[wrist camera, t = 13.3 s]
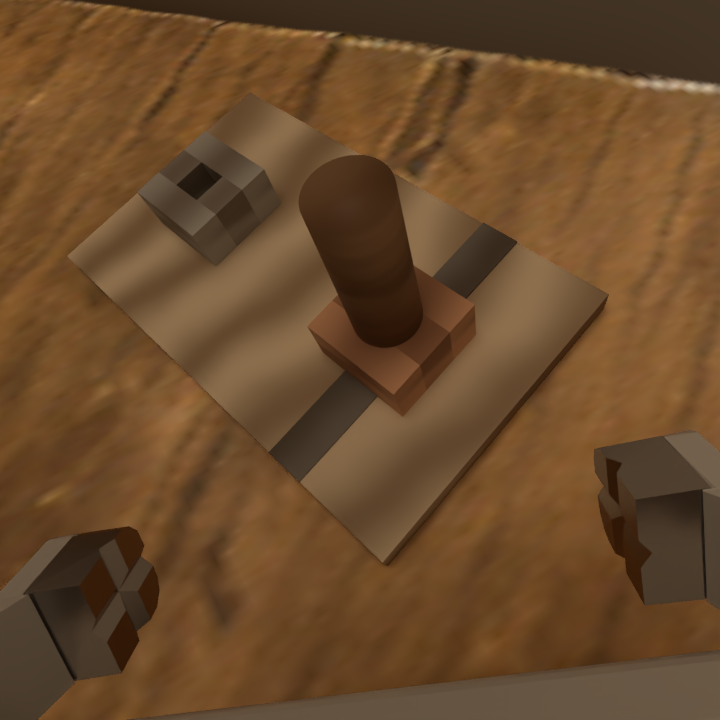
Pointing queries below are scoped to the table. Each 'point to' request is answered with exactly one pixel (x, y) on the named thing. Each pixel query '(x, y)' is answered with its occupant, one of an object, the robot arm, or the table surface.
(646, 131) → the table surface
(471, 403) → the subfloor panel
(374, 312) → the brown wooden peg
